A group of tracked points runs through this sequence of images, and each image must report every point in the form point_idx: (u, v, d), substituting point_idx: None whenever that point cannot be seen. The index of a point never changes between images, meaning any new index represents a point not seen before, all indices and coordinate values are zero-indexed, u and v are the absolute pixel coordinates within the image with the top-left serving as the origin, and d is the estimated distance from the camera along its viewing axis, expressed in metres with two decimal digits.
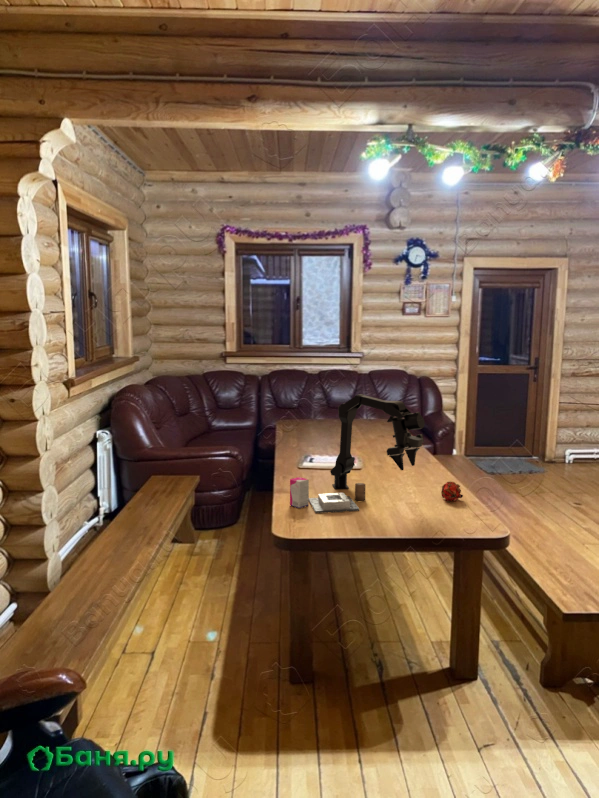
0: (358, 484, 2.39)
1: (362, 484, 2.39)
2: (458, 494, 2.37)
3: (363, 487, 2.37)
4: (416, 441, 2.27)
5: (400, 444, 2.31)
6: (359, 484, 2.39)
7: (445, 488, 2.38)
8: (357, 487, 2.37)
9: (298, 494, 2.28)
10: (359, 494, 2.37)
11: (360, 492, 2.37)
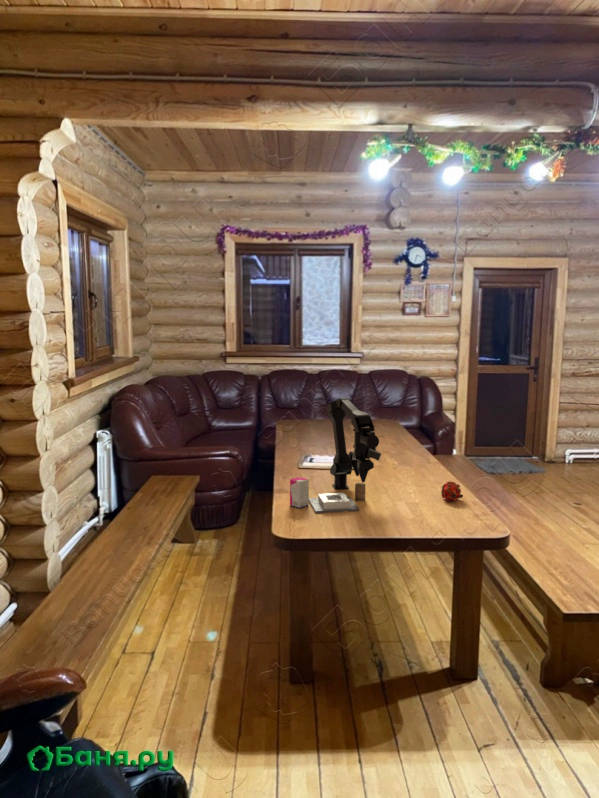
0: (358, 484, 2.39)
1: (362, 484, 2.39)
2: (458, 494, 2.37)
3: (363, 487, 2.37)
4: (380, 455, 2.36)
5: (363, 456, 2.34)
6: (359, 484, 2.39)
7: (445, 488, 2.38)
8: (357, 487, 2.37)
9: (298, 494, 2.28)
10: (359, 494, 2.37)
11: (360, 492, 2.37)
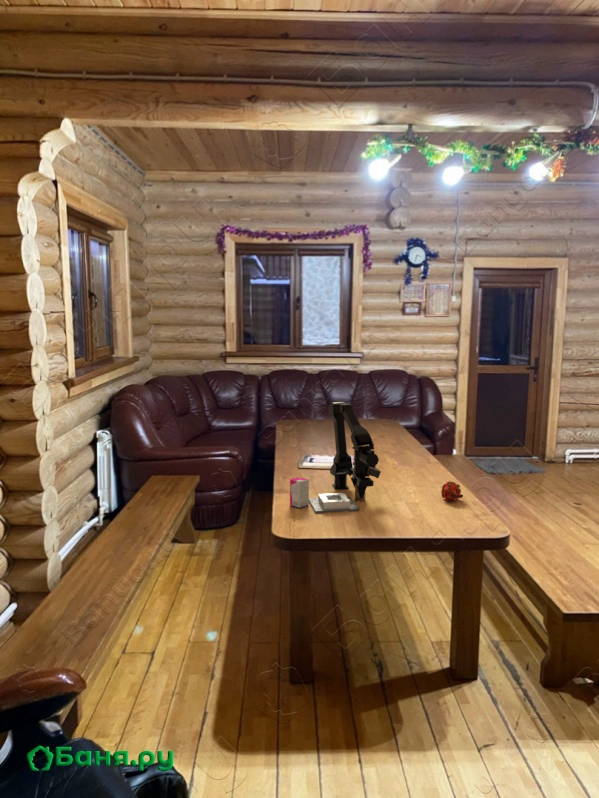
0: None
1: None
2: (458, 494, 2.37)
3: None
4: (379, 472, 2.37)
5: (363, 474, 2.35)
6: None
7: (445, 488, 2.38)
8: None
9: (298, 494, 2.28)
10: None
11: None
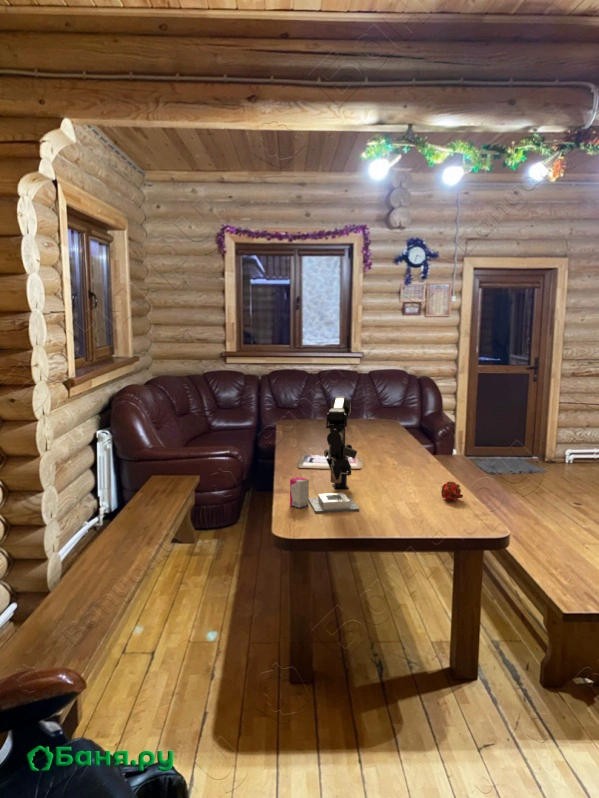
0: None
1: None
2: (458, 494, 2.37)
3: None
4: (355, 452, 2.27)
5: (338, 454, 2.26)
6: None
7: (445, 488, 2.38)
8: None
9: (298, 494, 2.28)
10: None
11: None
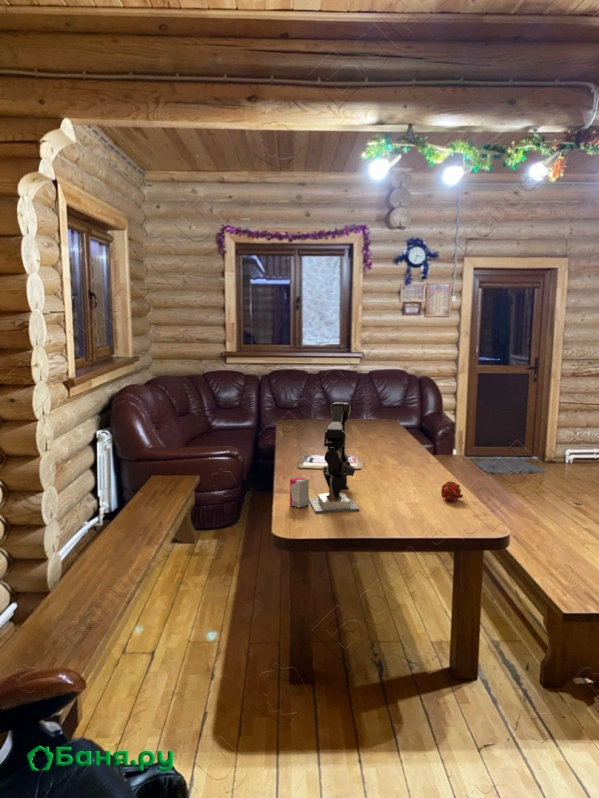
0: None
1: None
2: (458, 494, 2.37)
3: None
4: (354, 470, 2.28)
5: (336, 472, 2.26)
6: None
7: (445, 488, 2.38)
8: (331, 490, 2.29)
9: (298, 494, 2.28)
10: (332, 498, 2.29)
11: None
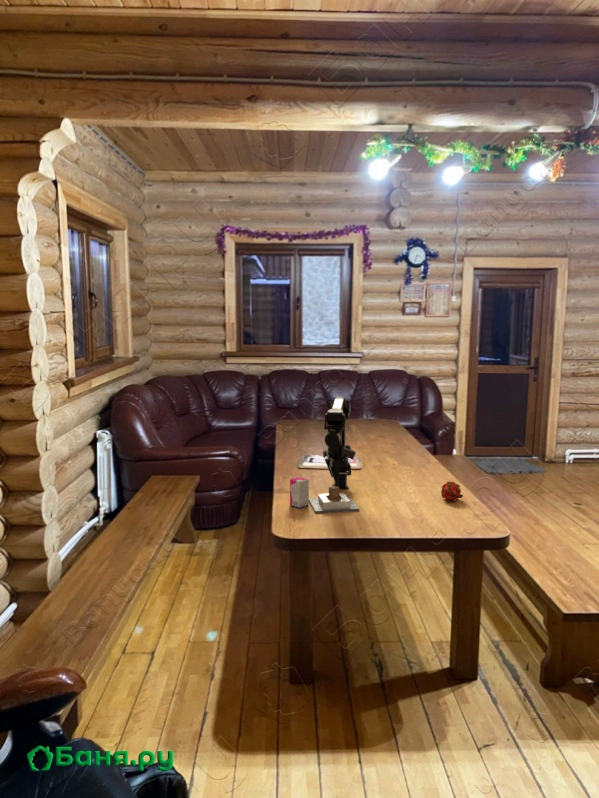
0: (332, 488, 2.30)
1: (336, 488, 2.30)
2: (458, 494, 2.37)
3: (337, 491, 2.29)
4: (354, 453, 2.27)
5: (336, 455, 2.25)
6: (333, 488, 2.30)
7: (445, 488, 2.38)
8: (331, 491, 2.29)
9: (298, 494, 2.28)
10: (332, 498, 2.29)
11: (334, 496, 2.28)
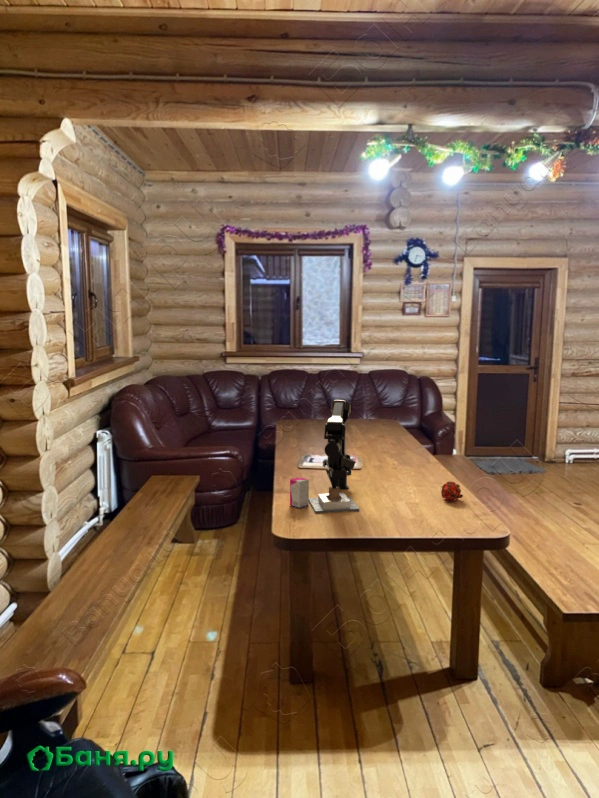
0: (332, 488, 2.30)
1: (336, 488, 2.30)
2: (458, 494, 2.37)
3: (337, 491, 2.29)
4: (354, 463, 2.28)
5: (336, 465, 2.26)
6: (333, 488, 2.30)
7: (445, 488, 2.38)
8: (331, 491, 2.29)
9: (298, 494, 2.28)
10: (332, 498, 2.29)
11: (334, 496, 2.28)
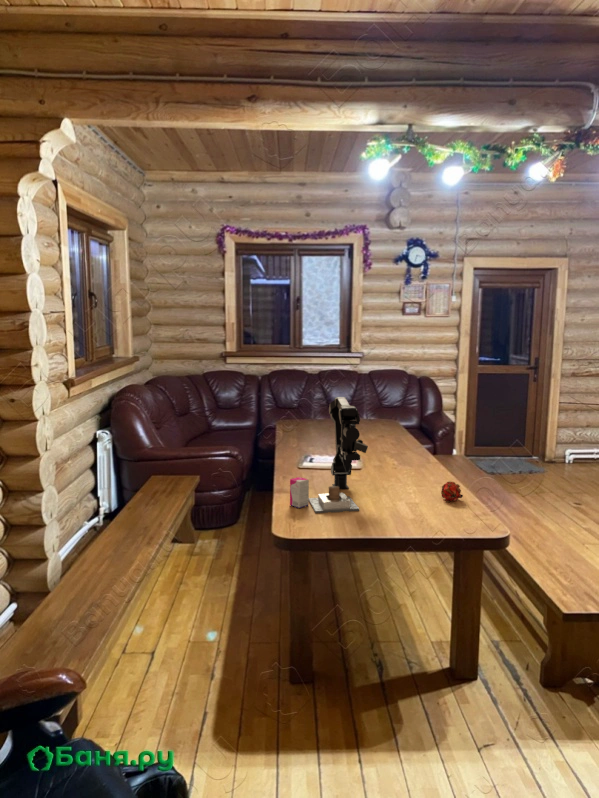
0: (332, 487, 2.31)
1: (336, 487, 2.31)
2: (458, 494, 2.37)
3: (338, 490, 2.29)
4: (366, 447, 2.37)
5: (350, 449, 2.36)
6: (333, 487, 2.31)
7: (445, 488, 2.38)
8: (331, 490, 2.29)
9: (298, 494, 2.28)
10: (333, 498, 2.29)
11: (335, 495, 2.29)
